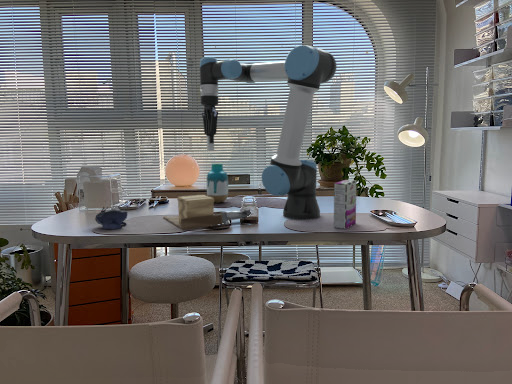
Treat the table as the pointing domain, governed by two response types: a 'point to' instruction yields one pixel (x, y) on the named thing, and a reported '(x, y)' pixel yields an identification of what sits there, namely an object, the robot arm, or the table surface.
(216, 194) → the vase
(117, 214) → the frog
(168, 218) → the brown flat slab
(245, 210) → the winch
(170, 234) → the table surface
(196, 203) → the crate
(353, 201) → the candy bar box
